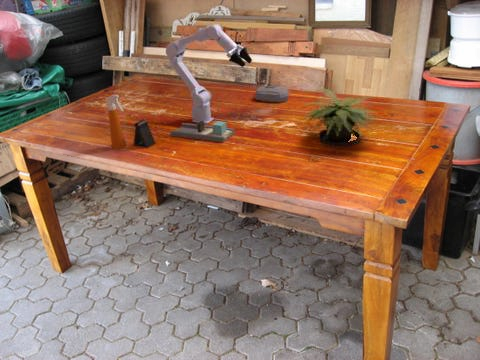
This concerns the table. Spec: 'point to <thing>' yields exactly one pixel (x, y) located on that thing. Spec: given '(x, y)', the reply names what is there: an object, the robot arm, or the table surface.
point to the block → (219, 128)
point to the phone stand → (143, 135)
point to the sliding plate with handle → (210, 130)
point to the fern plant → (340, 120)
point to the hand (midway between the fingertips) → (247, 63)
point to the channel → (191, 130)
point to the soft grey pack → (271, 94)
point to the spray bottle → (115, 123)
